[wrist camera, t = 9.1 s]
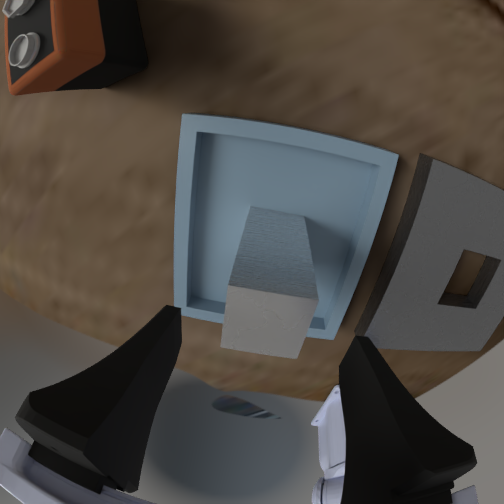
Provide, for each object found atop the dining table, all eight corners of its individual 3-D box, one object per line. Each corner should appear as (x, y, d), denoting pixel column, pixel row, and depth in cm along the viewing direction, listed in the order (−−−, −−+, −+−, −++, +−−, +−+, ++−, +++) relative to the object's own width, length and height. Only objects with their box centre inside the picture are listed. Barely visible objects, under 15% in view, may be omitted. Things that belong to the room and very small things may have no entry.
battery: (136, -7, 12) (48, -51, 4) (151, 68, 15) (51, 53, 7) (88, 19, 13) (-9, 1, 4) (100, 91, 16) (-6, 102, 7)
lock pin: (292, 262, 21) (296, 358, 13) (243, 253, 21) (220, 346, 13) (303, 215, 19) (318, 300, 11) (250, 206, 19) (228, 285, 11)
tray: (330, 323, 24) (333, 339, 22) (181, 298, 24) (174, 313, 22) (387, 149, 17) (398, 154, 15) (192, 112, 17) (182, 113, 15)
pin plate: (473, 338, 24) (480, 350, 22) (354, 330, 24) (358, 346, 22) (538, 209, 16) (550, 218, 15) (420, 153, 16) (433, 158, 15)
